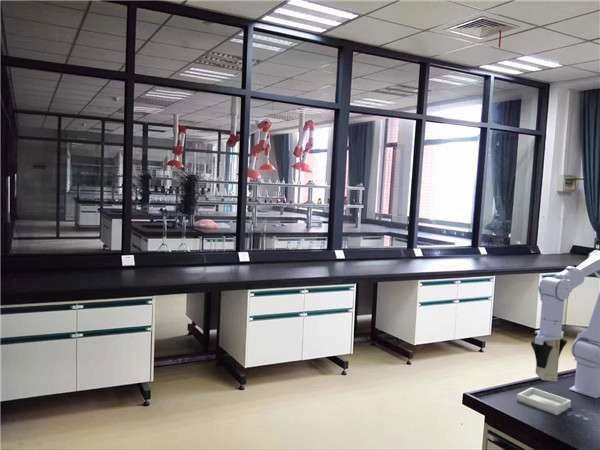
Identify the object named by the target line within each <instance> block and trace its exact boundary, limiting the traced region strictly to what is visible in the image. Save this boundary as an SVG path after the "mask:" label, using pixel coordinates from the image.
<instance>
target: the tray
mask: <svg viewBox="0 0 600 450" xmlns="http://www.w3.org/2000/svg"><path fill="white" fill-rule="evenodd" d="M516 401H517V402H520V403H522V404H525V405H528V406H530V407H532V408H536V409H538V410H542V411H544V412H546V413H550V414H553V415H554V416H555V415H556V416H558V415H560V414H562V413H563V412H565V411H567V410H568V409H569V408H571V405H572V400H571V399H569V398H565V397H563V396H559V395H557V394H553V393H551V392H547V391H544V390H541V389H538V388H535V387H533V386H532V387H529V388H527V389H525V390H523V391H521V392H519V393H517V394H516Z"/></svg>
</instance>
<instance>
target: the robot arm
mask: <svg viewBox="0 0 600 450" xmlns="http://www.w3.org/2000/svg"><path fill="white" fill-rule="evenodd" d="M592 274H595V276H596V277H597V278H598V279H600V249H595V250H593V251H591V252H589V253H588V258H587V259H585V260H584V261H582V263H581V262H580V264H579V265H577V266H576V267H575V266H568V265H567V267H565V268H564V269H563V270H562V271H560V272H558V273H556V274H555V275H554V276H552V277H550V276H547V277H545V278H543V279H541V281H540V282H539V285H538V287H537V288H538V293H539V296H540V297H539V300H540V302H541V306H540V307H541V309H540V319H539V329H537V330H534V334H537V335H536V336H534V337H535V339H534V340H531V342H530V345H531V347H532V349H533V352H534V356H535V362H536V363H537V367H540V368H544V369H545V368H546V365H547V361H548V357H549V354H550V352H551V350H552V349H553V346H549V345H547V344H546V340H549V341H550V340H560V346H559V358H560V356H561V354H562V352H563V349H564V347H565V346H566V345H567V344H568V340H567V339H564V337H565V336H564V333H565V331H563V318H564V310H565V300H567V299H568V298H569V297H570V294H571V293H572V291H573V290H574V289H576V288H577V287H578V286H580V285H582V284H583V283H584V281H585V277H588V276H590V275H592ZM570 351H571V355H572V357H574V361H576V364H575V365H576V368H575V377H574V385H573V386H571V387H569V388H568V390H570V391H573V392H575V393H579V394H582V395H585V396H588V397H591V398H594V399H599V398H600V291H599V292H598V296H597V299H596V302H595V305H594V308H593V311H592V314H591V318H590V320H589V324H588V326H587V329H586V330H583V331H581V332H578V333H577V336H576V338H575V340H574V341H572V343H571V348H570Z"/></svg>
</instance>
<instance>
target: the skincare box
mask: <svg viewBox="0 0 600 450" xmlns="http://www.w3.org/2000/svg"><path fill="white" fill-rule="evenodd" d="M546 344H547V345H549V346H553V349H552V350H551V352H550V354H549V357H548V361H547V365H546V368H545V369H544V368H540V367H537V363H536V364H535V374H536V375H537V377H538V378H539V379H541V380H543V381H552V382H558V373H559V362H560V361H559V359H560V357H559V346H560V340H550V341H549V340H546Z"/></svg>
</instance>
